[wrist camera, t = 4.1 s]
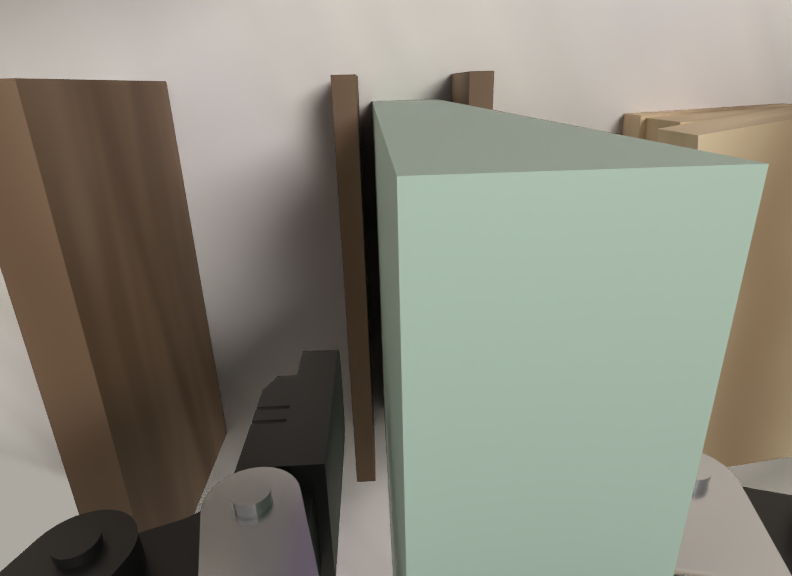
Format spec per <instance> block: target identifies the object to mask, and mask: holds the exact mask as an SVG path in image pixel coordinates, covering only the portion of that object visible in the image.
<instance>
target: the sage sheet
mask: <svg viewBox="0 0 792 576" xmlns="http://www.w3.org/2000/svg"><path fill="white" fill-rule="evenodd" d="M372 111H373V137H374V162H375V188H376V213H377V239H378V264H379V290H380V316H381V341H382V367H383V392H384V415H385V434H386V453H387V472H388V491H389V509H390V528H391V547H392V566H393V576H674V571H675V567H676V563H677V558H678V554H679V550H680V545H681V541H682V537H683V532H684V528H685V524H686V520H687V515H688V511H689V507H690V502H691V498H692V494H693V489H694V485H695V481H696V476H697V472H698V468H699V463H700V459H701V455H702V451H703V446H704V442H705V438H706V433H707V429H708V425H709V420H710V416H711V412H712V407H713V403H714V399H715V395H716V390H717V386H718V382H719V377H720V373H721V369H722V364H723V360H724V356H725V351H726V347H727V343H728V338H729V334H730V330H731V326H732V321H733V317H734V313H735V308H736V304H737V300H738V295H739V291H740V287H741V282H742V278H743V274H744V270H745V265H746V261H747V257H748V252H749V248H750V244H751V239H752V235H753V231H754V226H755V222H756V218H757V214H758V209H759V205H760V201H761V196H762V192H763V188H764V183H765V179H766V175H767V170H768V166H769V164H768V163H763V162H758V161H753V160H748V159H743V158H737V157H732V156H727V155H722V154H717V153H712V152H707V151H701V150H696V149H691V148H686V147H681V146H676V145H671V144H665V143H660V142H655V141H650V140H645V139H640V138H634V137H629V136H624V135H619V134H614V133H609V132H604V131H598V130H593V129H588V128H583V127H578V126H573V125H568V124H562V123H557V122H552V121H547V120H542V119H537V118H532V117H526V116H521V115H516V114H511V113H506V112H501V111H496V110H490V109H485V108H480V107H475V106H470V105H465V104H459V103H454V102H449V101H444V100H439V99H431V100H395V101H372Z"/></svg>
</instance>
